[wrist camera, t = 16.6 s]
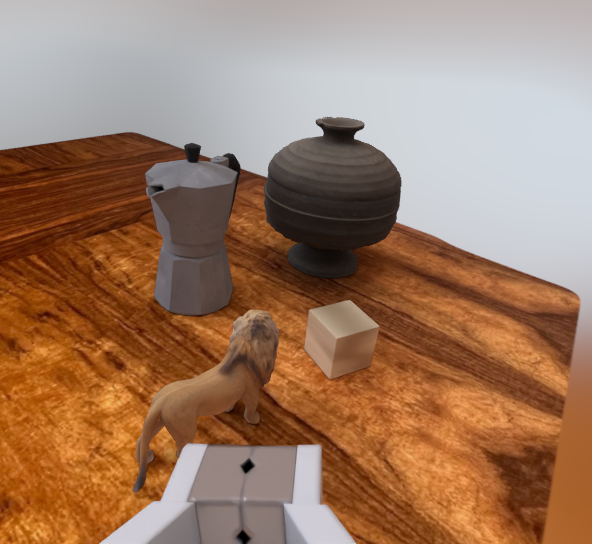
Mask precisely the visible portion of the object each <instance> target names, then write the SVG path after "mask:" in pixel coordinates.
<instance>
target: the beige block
mask: <svg viewBox="0 0 592 544" xmlns="http://www.w3.org/2000/svg"><path fill="white" fill-rule="evenodd" d="M379 327H380V326H379V325H377V324H376V323H375V322H374V321H373V320H372V319H371V318H370V317H368V316H367V315H366V314H365V313H364V312H363V311H362V310H361V309H359V308H358V307H357V306H356V305H355V304H354V303H353V302H352V301H351V300H348V301H344V302H340V303H335V304H331V305H327V306H323V307H319V308H315V309H311V310H309V316H308V323H307V331H306V338H305V346H304V350H305V351H306V352H307V353H308V354H309V356H310V357H311V358H312V359H313V360H314V362H315V363H316V364H317V365H318V366H319V367H320V369H321V370H322V371H323V372H324V373H325V375H326V376H327V377H328V378H329V379H333V378H336V377H339V376H342V375H345V374H348V373H351V372H354V371H357V370H360V369H363V368H366V367H369V366H371V362H372V358H373V353H374V349H375V345H376V340H377V336H378V331H379Z"/></svg>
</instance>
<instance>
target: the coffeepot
mask: <svg viewBox="0 0 592 544" xmlns="http://www.w3.org/2000/svg"><path fill="white" fill-rule="evenodd" d="M184 147H185V152H186V157H187V160H180V161H172V162H165V163H157V164H156V165H154V166H153V167H152V168H151V169H150V170H149V171H148V172H147V173H145V175H146V180H147V184H148V188H146V192H147V195H148V197H150V198H151V202H152V207H153V211H154V216H155V220H156V225H157V229H158V232H159V233H160V234H161V235H162V236H163V245H162V248H161V250H160V257H159V264H158V271H157V279H156V286H155V293H154V297H155V299H156V300H157V301H158V302H159V303H160V305H161V306H162V307H163V308H165V309H166V310H168V311H170V312H173V313H176V314H180V315H189V316H196V315H205V314H210V313H213V312H216V311H218V310H220V309H222V308H223V307H224V306H226V305H228V303H229V300H230V298H231V294H232V290H233V286H232V280H231V273H230V267H229V261H228V255H227V249H226V245H225V244H224V235H225V233H226V230H227V227H228V222H229V219H230V215H231V210H232V206H233V202H234V198H235V192H236V187H237V183H238V179H239V175H240V169H241V168H240V164H239V162H238V161H237V159H236V157H235V156H234V155H233V154H229V153H228V154H225V155H223V156H221V157H220V156H217V157H214V158H211V162H205V161H198V159H199V154H200V149H201V146H200V145H197V144H194V143H190V144H186V145H185V146H184Z"/></svg>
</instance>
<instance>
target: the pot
mask: <svg viewBox="0 0 592 544" xmlns="http://www.w3.org/2000/svg"><path fill="white" fill-rule="evenodd" d="M316 124H317V125H318V126H320V127H321V128H322V129H323V132H324V135H323V136H320V137H314V138H306V139H301V140H299V141H295V142H292V143H290V144H289V145H288V146H286V147H284V148H283V149H282V150H280V151H279V152H278V153H277V154H275V156H274V157H273V159H272V160H271V162H270V163H269V167H268V178H267V183H266V184H265V187H264V192H265V202H264V204H265V209H266V214H267V217H266V219H267V222H268V223H269V224H270V225H271V226H272V227H273V228H274V229H275V231H277V232H279V233H281V234H282V235H283V236H284V237H285V238H288V239H290V240H291V241H294V242H298V243H297V244H295V245H294V246H292V247H291V248H290V249H289V253H288V255H287V256H288V261H289V263H290V264H291V265H292V266H293V267H294V268H296V269H297V270H299V271H301V272H303V273H306V274H308V275H311V276H316V277H321V278H341V277H346V276H349V275H352V274H353V273H354V272H355V271H356V270H357V269H358V259H357V256H356V255H355V254H354V252H352V251H351V250H350V249H353V250H357V249H358V248H360V247H363V246H370V245H373V244H375V243H378V242H380V241H381V240H383V239H385V238H386V237H387V235H388V234H389V233H390V231H391V228H392V227H393V225H394V224H395V222H396V219H397V217H396V215H397V211H398V208H399V202H400V192H401V191H400V189H401V188H400V187H401V177H400V174H399V172H398V171H397V168H396V167H395V166H394V164H393V163H392V162H391V160H390V159H389V158H388V157H386V155H385V154H384V153H383V152H381V151H380V150H378V149H376V148H375V147H373V146H372V145H370V144H367V143H364V142H361V141H359V140H355V139H354V135H355V133H356V132H357V131H359V130H361V129H363V128H364V123H363V122H362V121H358V120H354V119H349V118H338V117H337V118H331V117H330V118H329V117H327V118H322V119H318V120H316Z"/></svg>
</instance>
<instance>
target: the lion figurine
mask: <svg viewBox="0 0 592 544" xmlns="http://www.w3.org/2000/svg"><path fill="white" fill-rule="evenodd" d="M233 328H234V329H233V333H232V335H231V337H230V344H229V346H228V348H227V352H226V355H225V357H224V358H223V360H222V362H221V363H219V364H218V365H217V366H215V367H214V368H212V369H210V370H208V371H206V372H204V373H202V374H201V375H199V376H198V377H195V378H193V379H189V380H182V381H176V382H173V383H170V384H168V385H166V386H165V387H163V388H162V389H161V390H160V391H159V392H158V393H157V394H156V395H155V396H154V397H153V400H152V403H151V408H150V410H149V412H148V414H147V416H146V419H145V422H144V425H143V430H142V435H141V436H140V437H139V438H138V440H137V443H136V460H137V462H138V463H140V467H139V475H138V478H137V480H136V483H135V485H134V488H133V491H134V492H135V493H136V492H138V491H139V490H140V489H141V488H142V487H143V485H144V482H145V480H146V472H147V463H149V462H151V461H152V460H153V458H154V451H153V450H149V444H150V442H151V440H152V439H153V438H154V437H155V435H156V434H157V433H158V432H159V431H160V430H161V429H162V428H163V427H164V425H165V427H166V428H167V430H168V431H169V433H170V434H171V436H172V437H173V438H174V440H175V441H176V443H177V451H176V456H177V458H178V459H179V456H180V454H181V451H182V449H183V448H184V446H185V445H186V444H187V443H193V440H194V437H195V435H196V432H197V417H198V416H211V415H217V414H219V413H221V412H224V411H225V412H229V411H230V410H232V409H233V408H234V406H235V403H236V402H237V401H238V400H239V399H240V398H241V399H242V401H243V402H244V403H245V412H244V418H245V419H246V421H247V422H248V423H251V424H256V423H258V422H259V421H260V416H259V413H258V412H256V408H257V404H258V402H259V389H260V388H261V387H263V386H264V384H267V382H269V381H270V378H271V373H272V372H273V370H274V365H275V360H276V357H277V347H278V343H279V342H278V333H279V331H278V329H277V328H276V324H275V322H274V321H273V320H272V318H271V317H270V314H269V312H268V311H263V310H259V311H258V310H249V311H248V312H247V313H245V315H244V316H243V317H239V318H238V319H237V320H236V321H235V322H234V323H233Z"/></svg>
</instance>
